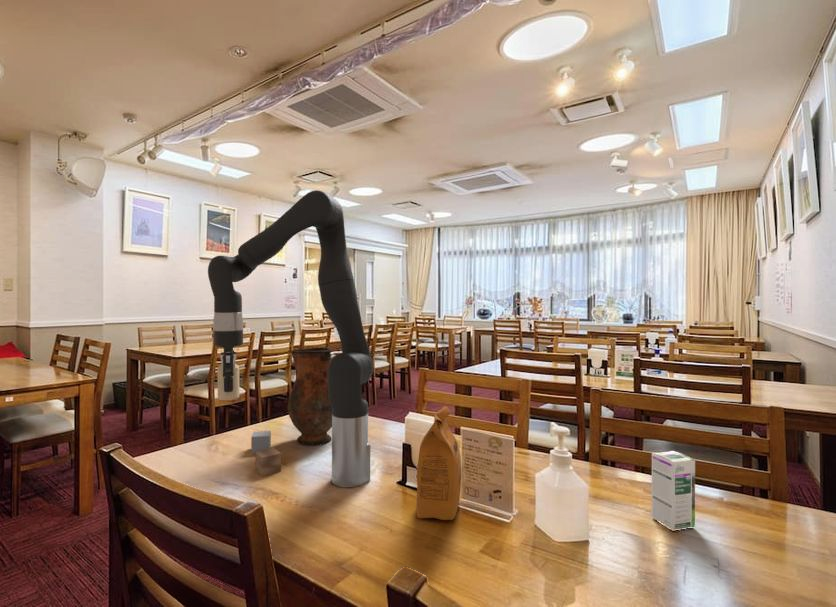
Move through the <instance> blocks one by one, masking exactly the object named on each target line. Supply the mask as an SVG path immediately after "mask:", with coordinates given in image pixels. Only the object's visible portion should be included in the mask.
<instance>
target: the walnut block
mask: <svg viewBox="0 0 836 607" xmlns="http://www.w3.org/2000/svg"><path fill="white" fill-rule="evenodd" d="M255 470H256V471H257V473H258V474H259V475H260V476H261V477H265V476H267V475H272V474H276V473H280V472H282V452H280V450H277V449H276V448H275V447H272V448H271V447H270V449H267V450H262V451H258V452H256V453H255Z"/></svg>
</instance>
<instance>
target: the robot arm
mask: <svg viewBox="0 0 836 607" xmlns="http://www.w3.org/2000/svg"><path fill="white" fill-rule="evenodd" d="M344 218H345V217H344V210H343V207H342V205H341V204H340V202H339V201H338V200H337V199H336V198H334V197H333V196H331V195H330V194H328V193H326V192H325V191H322V190H318V189H317V190H310V191H309V192H307V193H305V195H303V196H302V197H301V198H300V199H299V200H298V201H296V203H294V204H293V205H292V206H291V207H290V208H289V209H288V210H287V211H285V212H284V214H282V215H281V216H280V217H279V218H278V219H276V221H274V222H273V223H271V224H270V225H269V226H268V227H266V228H265V229H264V230H262V231H261V232H259V233H257V234H256V235H254V236H253V237H251V238H250V239H248V240H246V241H245V242H243V243H242V244H241V245H240V246H239V248H238V250H237V254H236V255H235V256H229V255H228V256H226V255H215V257H213V258H211V260H210V261H209V264H208V267H207V275H208V280H209V284H210V287H211V292H212V294H213V297H214V298H213V301H214V303H213V307H214V309H213V312H214V313H213V321H212V322H213V324H212V325H213V326H212V328H213V329H212V330H213V331H212V332H213V333H212V334H213V335H212V336H213V342H212V343H213V346H214V347H217V348H223V351H221V352H220V361H221V363H220V365H221V368H222V370H223V378H224V392H232V391H233V376H234V373H233V370H234V369H235V364H236V360H237V351H235V350H234V347H241V346H242V345H243V344H244V319H243V298H242V294H241V292H239V291H237V290H235V287H234V284H233V283H238V282H240V281H243V280H245V279H247V277H249V276H250V275H251V274H252V273H253V271H255V270H256V269H257V267H258V266H260V265H262V264H264V263H265V262H267V261H270V259H272V258H274V256H276V255H277V254H279V252H281V251H282V250H283V248H284V247H285V246H286V245H287V243H288V242H289V241H290V240H291V239H292V238H293V237H294V236H296V235H297V234H298V233H300V232H302V231H304V230H306V229H307V230H308V229H309V228H312V227H313V228H315V230H316V233H317V236H318V240H319V241H318V242H319V245H320V261H319V265H318V272H317V285H318V289H319V294H320V300H321V303H322V306H323V309H324V310H325V312H326V314H327V316H328V317H329V319H330V321H331V323H332V324H333V326H334V327H335V329H336V331H337V334H338V336H339V341H340V348H341V352H339V353H340V354H337V355H333V357H331V359H330V364H329V368H328V392H329V402H330V405H331V408H332V427H331V482H332V484H334V485H335V486H337V487H341V488H354V487H359V486H361V485H364V484H365V483H368V482H371V443H370V442H369V403H368V401H367V400H366V399H363V397H362V385H363V384H366V383H367V382H368V381H369V380H370V379H371V378H372V376H373V373H374V362H373V358H372V355H371V351H370V348H369V345H368V342H367V338H366V335H365V331H364V328H363V321H362V317H361V316H362V315H361V311H360V306H359V302H358V294H357V289H356V285H355V279H354V275H353V270H352V266H351V264H352V263H351V260H350V256H349V251H348V248H347V242H346V231H345V230H346V229H345V219H344ZM226 369H231V372H225V370H226Z"/></svg>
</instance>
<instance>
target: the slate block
mask: <svg viewBox="0 0 836 607" xmlns="http://www.w3.org/2000/svg"><path fill="white" fill-rule="evenodd" d="M250 440H251V441H250V442H251V444H250V445H251V451H250V452H251V454H256V452H258V451H262V450H267V449H271V446H272V430H258V431H253V433H252V435H251V438H250Z"/></svg>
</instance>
